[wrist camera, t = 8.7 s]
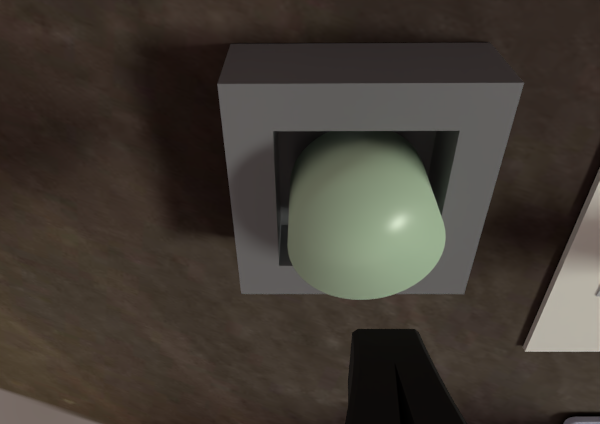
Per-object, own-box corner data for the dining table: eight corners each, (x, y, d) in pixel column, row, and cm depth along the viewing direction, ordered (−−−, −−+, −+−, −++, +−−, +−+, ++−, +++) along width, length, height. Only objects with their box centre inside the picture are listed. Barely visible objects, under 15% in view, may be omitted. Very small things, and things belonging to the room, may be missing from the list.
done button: (415, 235, 18) (432, 299, 15) (290, 236, 18) (288, 299, 15) (434, 124, 15) (459, 181, 13) (288, 124, 15) (285, 181, 13)
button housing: (445, 238, 20) (464, 293, 18) (248, 239, 20) (241, 294, 18) (490, 42, 15) (524, 82, 13) (230, 44, 15) (217, 84, 13)
